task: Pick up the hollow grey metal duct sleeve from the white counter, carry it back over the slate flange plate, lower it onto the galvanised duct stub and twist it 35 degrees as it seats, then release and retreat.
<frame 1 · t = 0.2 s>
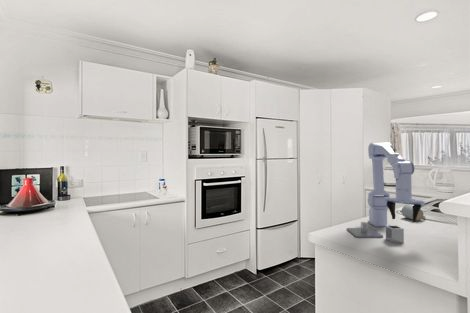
hand: (403, 220, 111), 10 cm above the worktop, tool pointing down, fingers open, 7 cm apart
duct flange: (364, 233, 125), on the worktop
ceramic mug: (414, 219, 146), on the worktop
sleeve: (394, 240, 114), on the worktop
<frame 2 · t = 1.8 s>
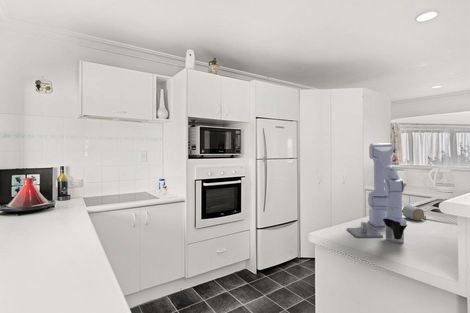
hand: (394, 236, 114), 2 cm above the worktop, tool pointing down, fingers closed on sleeve, 5 cm apart
sleeve: (394, 240, 114), on the worktop, touching gripper
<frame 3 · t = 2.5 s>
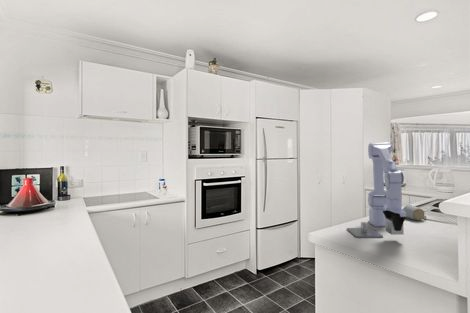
hand: (394, 228, 114), 5 cm above the worktop, tool pointing down, fingers closed on sleeve, 5 cm apart
sleeve: (394, 232, 114), point 3 cm above the worktop, touching gripper
everything else where it was.
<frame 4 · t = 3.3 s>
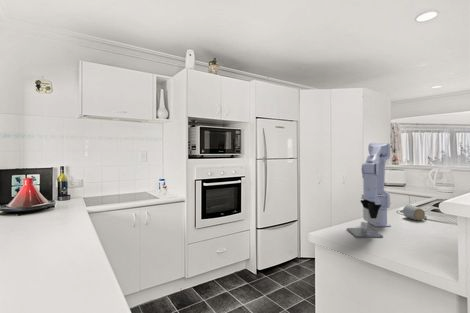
hand: (370, 216, 122), 9 cm above the worktop, tool pointing down, fingers closed on sleeve, 5 cm apart
sleeve: (371, 220, 122), point 7 cm above the worktop, touching gripper
everything else where it was.
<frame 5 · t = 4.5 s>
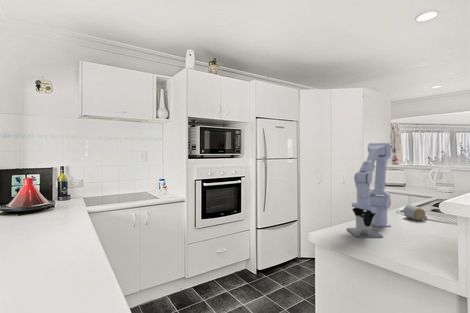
hand: (363, 224, 124), 4 cm above the worktop, tool pointing down, fingers closed on sleeve, 5 cm apart
sleeve: (364, 228, 124), point 2 cm above the worktop, touching gripper
when the fingers open (3 cm above the worktop, at t = 5.2 s): sleeve stays where it is, resting on duct flange.
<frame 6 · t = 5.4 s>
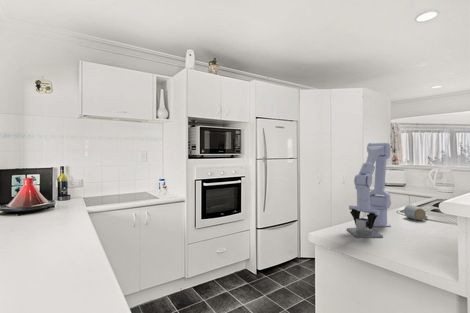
hand: (363, 226, 124), 3 cm above the worktop, tool pointing down, fingers open, 6 cm apart
sleeve: (364, 231, 125), point 1 cm above the worktop, touching duct flange
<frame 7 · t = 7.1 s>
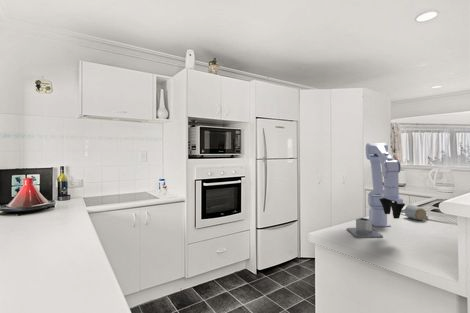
hand: (391, 216, 118), 10 cm above the worktop, tool pointing down, fingers open, 7 cm apart
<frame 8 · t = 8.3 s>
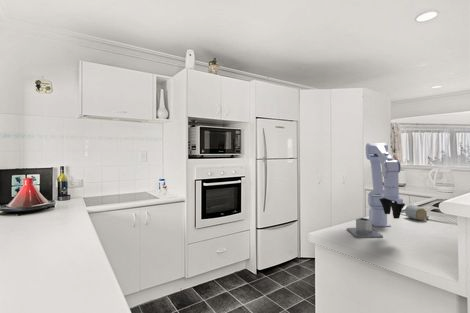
hand: (391, 216, 118), 10 cm above the worktop, tool pointing down, fingers open, 7 cm apart
at the end: sleeve 0.1 cm off-centre on the duct flange, point 0.8 cm above the duct flange's base; sleeve tilted 0°; the gripper is holding nothing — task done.
